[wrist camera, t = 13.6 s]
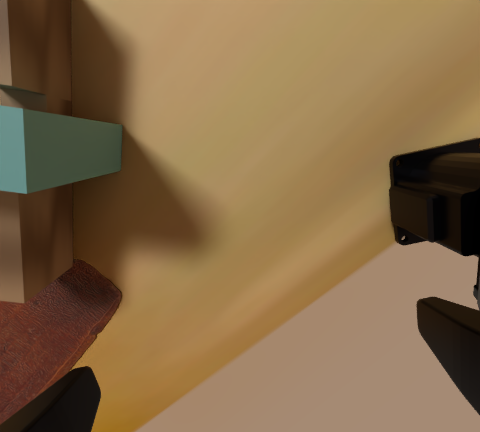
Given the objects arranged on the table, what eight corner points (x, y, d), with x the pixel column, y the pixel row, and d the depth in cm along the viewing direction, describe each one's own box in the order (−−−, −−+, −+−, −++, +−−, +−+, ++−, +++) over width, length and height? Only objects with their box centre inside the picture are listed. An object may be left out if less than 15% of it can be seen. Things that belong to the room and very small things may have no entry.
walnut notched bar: (26, -25, 16) (-62, -96, 11) (70, -18, 16) (2, -85, 11) (38, 261, 21) (-22, 298, 16) (73, 265, 21) (24, 303, 16)
